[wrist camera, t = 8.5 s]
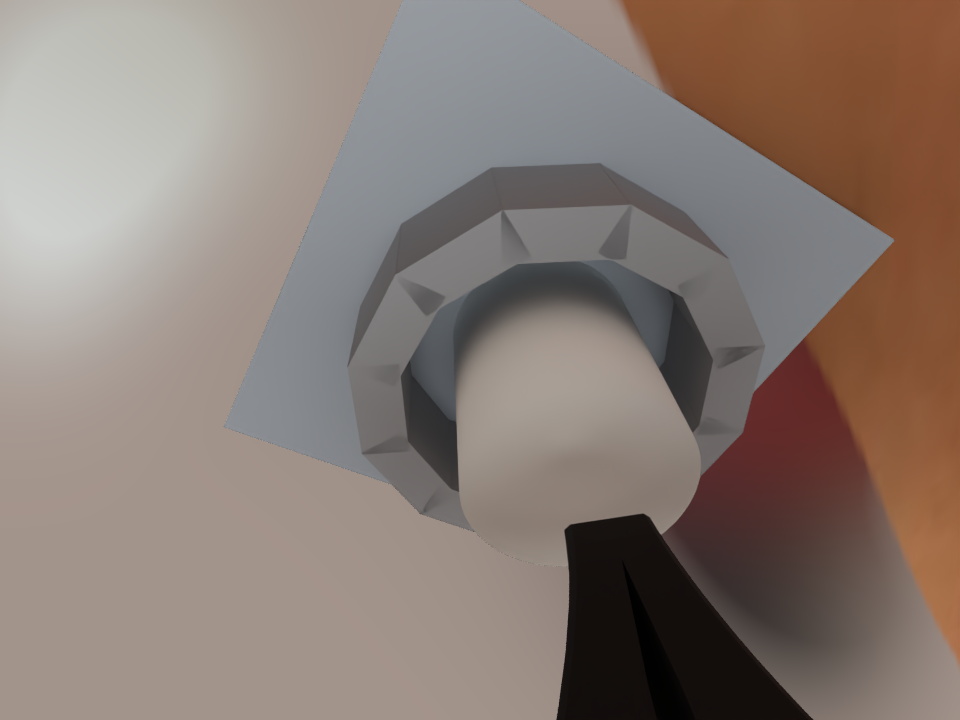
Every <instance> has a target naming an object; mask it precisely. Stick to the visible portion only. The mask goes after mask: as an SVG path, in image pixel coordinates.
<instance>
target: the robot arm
mask: <svg viewBox="0 0 960 720" xmlns="http://www.w3.org/2000/svg"><path fill="white" fill-rule="evenodd" d="M564 533H565V541H566V550H567V559H568V567H569V613H568V627H567V642H566V653H565V662H564V669H563V677H562V684H561V692H560V699H559V707H558V714H557V720H813V719H812V718H811V717H810V716H809V715H808V714H807V713H806V712H805V711H804V710H803V709H802V708H801V707H800V706H799V704H797V702H796V701H795V700H794V699H793V698H792V697H791V696H790V695H789V694H788V693H787V692H786V691H785V690H784V688H783V687H782V686H781V685H780V684H779V683H778V682H777V681H776V680H775V679H774V677H773V676H772V675H771V674H770V673H769V672H768V671H767V670H766V669H765V667H763V666H762V664H761V663H760V662H759V661H758V660H757V659H756V657H755V656H754V655H753V654H752V653H751V652H750V651H749V649H748V648H747V647H746V646H745V645H744V643H743V642H742V641H741V640H740V639H739V638H738V637H737V635H736V634H735V633H734V632H733V631H732V629H731V628H730V627H729V625H728V624H727V623H726V622H725V621H724V620H723V618H722V617H721V616H720V615H719V613H718V612H717V611H716V610H715V608H714V607H713V606H712V605H711V603H710V602H709V601H708V600H707V598H706V597H705V596H704V595H703V593H702V592H701V591H700V589H699V588H698V587H697V586H696V584H695V583H694V582H693V580H692V579H691V577H690V576H689V575H688V573H687V572H686V571H685V569H684V568H683V566H682V565H681V564H680V562H679V561H678V559H677V558H676V557H675V555H674V554H673V553H672V551H671V550H670V548H669V546H668V545H667V544H666V542H665V541H664V539H663V538H662V536H661V534H660V533H659V531H658V530H657V528H656V526H655V525H654V523H653V521H652V520H651V518H650V517H649V516H647V515H645V514H644V513H642V514H636V515H629V516H622V517H616V518H609V519H602V520H596V521H589V522H582V523H576V524H570V525H569V526H568V527H567V528H566V529H565V530H564Z"/></svg>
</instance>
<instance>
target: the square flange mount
mask: <svg viewBox="0 0 960 720" xmlns="http://www.w3.org/2000/svg"><path fill="white" fill-rule="evenodd" d="M893 242H894V239H893V238H891V237H889V236H888V235H886V234H885V233H883V232H882V231H880V230H878V229H877V228H875V227H874V226H872V225H871V224H869V223H867V222H866V221H864V220H863V219H861V218H860V217H858V216H857V215H855V214H853V213H852V212H850V211H849V210H847V209H846V208H844V207H842V206H841V205H839V204H838V203H836V202H835V201H833V200H831V199H830V198H828V197H827V196H825V195H824V194H822V193H820V192H819V191H817V190H816V189H814V188H813V187H811V186H810V185H808V184H806V183H805V182H803V181H802V180H800V179H799V178H797V177H795V176H794V175H792V174H791V173H789V172H788V171H786V170H784V169H783V168H781V167H780V166H778V165H777V164H775V163H774V162H772V161H770V160H769V159H767V158H766V157H764V156H763V155H761V154H759V153H758V152H756V151H755V150H753V149H752V148H750V147H748V146H747V145H745V144H744V143H742V142H741V141H739V140H737V139H736V138H734V137H733V136H731V135H730V134H728V133H727V132H725V131H723V130H722V129H720V128H719V127H717V126H716V125H714V124H712V123H711V122H709V121H708V120H706V119H705V118H703V117H701V116H700V115H698V114H697V113H695V112H694V111H692V110H691V109H689V108H687V107H686V106H684V105H683V104H681V103H680V102H678V101H676V100H675V99H673V98H672V97H670V96H669V95H667V94H665V93H664V92H662V91H661V90H659V89H658V88H656V87H654V86H653V85H651V84H650V83H648V82H647V81H645V80H643V79H642V78H640V77H639V76H637V75H636V74H634V73H633V72H631V71H629V70H628V69H626V68H625V67H623V66H622V65H620V64H618V63H617V62H615V61H614V60H612V59H611V58H609V57H608V56H606V55H604V54H603V53H601V52H599V51H598V50H597V49H595V48H593V47H592V46H590V45H589V44H587V43H586V42H584V41H582V40H581V39H579V38H578V37H576V36H575V35H573V34H571V33H570V32H568V31H566V30H565V29H564V28H562V27H560V26H559V25H557V24H556V23H554V22H553V21H551V20H549V19H548V18H546V17H545V16H543V15H542V14H540V13H539V12H537V11H535V10H534V9H532V8H531V7H529V6H527V5H526V4H524V3H523V2H521V1H520V0H403V1H402V3H401V6H400V8H399V10H398V13H397V15H396V18H395V20H394V22H393V25H392V27H391V30H390V32H389V34H388V37H387V39H386V42H385V44H384V46H383V49H382V51H381V54H380V56H379V58H378V61H377V63H376V65H375V68H374V70H373V72H372V75H371V77H370V80H369V82H368V84H367V87H366V89H365V92H364V94H363V96H362V99H361V101H360V103H359V106H358V108H357V111H356V113H355V115H354V118H353V120H352V123H351V125H350V127H349V130H348V132H347V135H346V137H345V139H344V142H343V144H342V146H341V149H340V151H339V154H338V156H337V158H336V161H335V163H334V166H333V168H332V170H331V173H330V175H329V177H328V180H327V182H326V185H325V187H324V189H323V192H322V194H321V196H320V199H319V201H318V204H317V206H316V208H315V211H314V213H313V215H312V218H311V220H310V223H309V225H308V227H307V230H306V232H305V235H304V237H303V239H302V242H301V244H300V246H299V249H298V251H297V254H296V257H295V258H294V261H293V263H292V266H291V268H290V270H289V273H288V275H287V278H286V280H285V282H284V285H283V287H282V289H281V292H280V294H279V297H278V299H277V302H276V304H275V306H274V309H273V311H272V313H271V316H270V318H269V320H268V323H267V325H266V328H265V330H264V332H263V335H262V337H261V340H260V342H259V344H258V347H257V349H256V351H255V354H254V356H253V359H252V361H251V363H250V366H249V368H248V370H247V373H246V375H245V378H244V380H243V383H242V385H241V387H240V390H239V392H238V394H237V397H236V399H235V402H234V404H233V406H232V409H231V411H230V413H229V416H228V418H227V421H226V423H225V425H224V427H225V428H228V429H231V430H234V431H237V432H239V433H242V434H245V435H248V436H251V437H254V438H257V439H260V440H263V441H266V442H269V443H272V444H275V445H278V446H281V447H283V448H286V449H289V450H292V451H295V452H298V453H301V454H304V455H307V456H310V457H313V458H316V459H318V460H321V461H324V462H327V463H330V464H333V465H336V466H339V467H342V468H345V469H348V470H351V471H353V472H356V473H359V474H362V475H365V476H368V477H371V478H374V479H377V480H380V481H383V482H386V483H388V484H392V485H393V486H394V487H395V488H396V489H397V490H398V491H399V492H400V493H401V495H403V496H404V497H405V499H407V501H408V502H409V503H410V504H411V505H412V506H413V507H414V508H415V509H416V510H417V511H418V512H419V513H420V514H422V515H425V516H429V517H431V518H434V519H437V520H440V521H444V522H446V523H449V524H452V525H455V526H459V527H461V528H465V529H467V530H470V531H473V532H475V531H474V530H473V529H472V527H471V526H470V525H469V523H468V521H467V519H466V517H465V515H464V513H463V510H462V507H461V502H460V496H459V476H458V450H457V424H456V398H455V372H454V346H453V334H454V327H455V321H456V318H457V315H458V312H459V310H460V308H461V306H462V304H463V302H464V301H465V299H466V298H467V296H468V295H469V293H470V292H471V291H472V290H473V289H475V288H476V287H478V286H480V285H482V284H483V283H485V282H487V281H489V280H490V279H492V278H494V277H495V276H497V275H499V274H501V273H502V272H504V271H506V270H508V269H509V268H511V267H513V266H515V265H516V264H525V263H547V262H569V261H579V262H581V263H584V264H586V265H589V266H590V267H592V268H594V269H595V270H597V271H599V272H600V273H601V274H602V275H604V276H605V277H606V278H607V279H608V280H609V281H610V282H611V283H612V284H613V285H614V287H615V288H616V290H617V291H618V293H619V294H620V296H621V298H622V300H623V302H624V304H625V305H626V307H627V309H628V311H629V313H630V315H631V317H632V319H633V321H634V323H635V324H636V326H637V328H638V330H639V332H640V334H641V336H642V338H643V340H644V342H645V344H646V345H647V347H648V349H649V351H650V353H651V355H652V357H653V359H654V361H655V363H656V364H657V366H658V368H659V370H660V372H661V374H662V376H663V378H664V380H665V382H666V383H667V385H668V387H669V389H670V391H671V393H672V395H673V397H674V399H675V401H676V403H677V404H678V406H679V408H680V410H681V412H682V414H683V416H684V418H685V420H686V422H687V423H688V425H689V427H690V429H691V431H692V433H693V435H694V437H695V440H696V442H697V444H698V448H699V452H700V456H701V472H700V476H701V475H702V474H703V473H704V472H705V471H706V470H707V469H708V468H709V467H710V466H711V465H712V464H713V462H715V461H716V460H717V459H718V458H719V457H720V456H721V454H722V453H723V452H724V451H725V450H726V449H727V448H728V447H729V446H730V445H731V444H732V443H733V442H734V441H735V440H736V439H737V438H738V437H739V436H740V435H741V434H742V433H743V429H744V425H745V422H746V418H747V414H748V410H749V406H750V402H751V399H752V395H753V392H754V391H755V390H756V389H757V388H758V387H759V386H760V385H761V384H762V383H763V381H765V379H766V378H767V377H768V376H769V375H770V374H771V373H772V372H773V371H774V370H775V369H776V368H777V366H778V365H779V364H780V363H781V362H782V361H783V360H784V359H785V358H786V357H787V356H788V354H790V352H791V351H792V350H793V349H794V348H795V347H796V346H797V345H798V344H799V343H800V342H801V341H802V340H803V338H804V337H805V336H806V335H807V334H808V333H809V332H810V331H811V330H812V329H813V328H814V327H815V326H816V324H817V323H818V322H819V321H820V320H821V319H822V318H823V317H824V316H825V315H826V314H827V313H828V312H829V310H830V309H831V308H832V307H833V306H834V305H835V304H836V303H837V302H838V301H839V300H840V299H841V298H842V296H843V295H844V294H845V293H846V292H847V291H848V290H849V289H850V288H851V287H852V286H853V285H854V284H855V282H856V281H857V280H858V279H859V278H860V277H861V276H862V275H863V274H864V273H865V272H866V271H867V270H868V268H869V267H870V266H871V265H872V264H873V263H874V262H875V261H876V260H877V259H878V258H879V257H880V256H881V254H882V253H883V252H884V251H885V250H886V249H887V248H888V247H889V246H890V245H891V244H892V243H893Z"/></svg>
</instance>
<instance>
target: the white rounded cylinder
mask: <svg viewBox="0 0 960 720" xmlns="http://www.w3.org/2000/svg"><path fill="white" fill-rule="evenodd" d="M453 346H454V372H455V398H456V424H457V450H458V476H459V496H460V502H461V507H462V510H463V513H464V515H465V517H466V519H467V521H468V523H469V525H470V526H471V527H472V529H473V530H474V531H475V532H476V533H477V535H478V536H479V537H481V539H483V540H484V541H485V542H486V543H487V544H489V545H490V546H491V547H493V548H494V549H496V550H498V551H500V552H501V553H504V554H505V555H507V556H510V557H512V558H515V559H518V560H521V561H525V562H528V563H532V564H538V565H544V566H556V567H557V566H558V567H568V559H567V550H566V541H565V533H564V530H565V529H566V528H567V527H568V526H569V525H570V524H576V523H582V522H589V521H596V520H602V519H609V518H616V517H622V516H629V515H636V514H642V513H644V514H645V515H647V516H649V517H650V518H651V520H652V521H653V523H654V525H655V526H656V528H657V530H658V531H659V533H660V534H663V533H664V532H665V531H666V530H667V529H668V528H669V527H671V526H672V525H673V524H674V523H675V522H676V521H677V520H678V518H679V517H680V516H681V515H682V514H683V512H684V511H685V510H686V508H687V506H688V505H689V504H690V502H691V500H692V498H693V496H694V494H695V492H696V489H697V486H698V483H699V479H700V472H701V456H700V452H699V448H698V444H697V442H696V440H695V437H694V435H693V433H692V431H691V429H690V427H689V425H688V423H687V422H686V420H685V418H684V416H683V414H682V412H681V410H680V408H679V406H678V404H677V403H676V401H675V399H674V397H673V395H672V393H671V391H670V389H669V387H668V385H667V383H666V382H665V380H664V378H663V376H662V374H661V372H660V370H659V368H658V366H657V364H656V363H655V361H654V359H653V357H652V355H651V353H650V351H649V349H648V347H647V345H646V344H645V342H644V340H643V338H642V336H641V334H640V332H639V330H638V328H637V326H636V324H635V323H634V321H633V319H632V317H631V315H630V313H629V311H628V309H627V307H626V305H625V304H624V302H623V300H622V298H621V296H620V294H619V293H618V291H617V290H616V288H615V287H614V285H613V284H612V283H611V282H610V281H609V280H608V279H607V278H606V277H605V276H604V275H602V274H601V273H600V272H599V271H597V270H595V269H594V268H592V267H590V266H589V265H586V264H584V263H581V262H579V261H569V262H547V263H525V264H516V265H515V266H513V267H511V268H509V269H508V270H506V271H504V272H502V273H501V274H499V275H497V276H495V277H494V278H492V279H490V280H489V281H487V282H485V283H483V284H482V285H480V286H478V287H476V288H475V289H473V290H472V291H471V292H470V293H469V295H468V296H467V298H466V299H465V301H464V302H463V304H462V306H461V308H460V310H459V312H458V315H457V318H456V321H455V327H454V334H453Z"/></svg>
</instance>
